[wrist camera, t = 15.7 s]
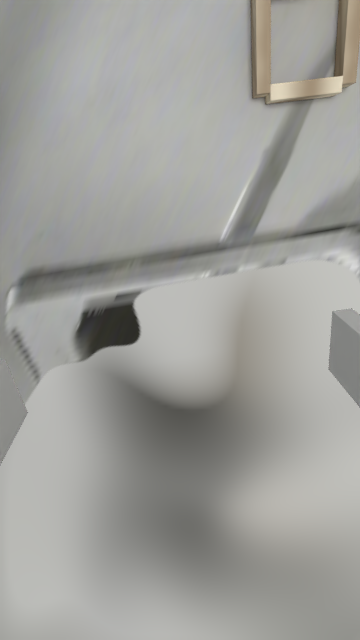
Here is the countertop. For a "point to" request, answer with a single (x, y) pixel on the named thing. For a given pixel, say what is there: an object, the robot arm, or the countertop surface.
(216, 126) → the countertop surface
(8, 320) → the countertop surface
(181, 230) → the countertop surface
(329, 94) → the collar
